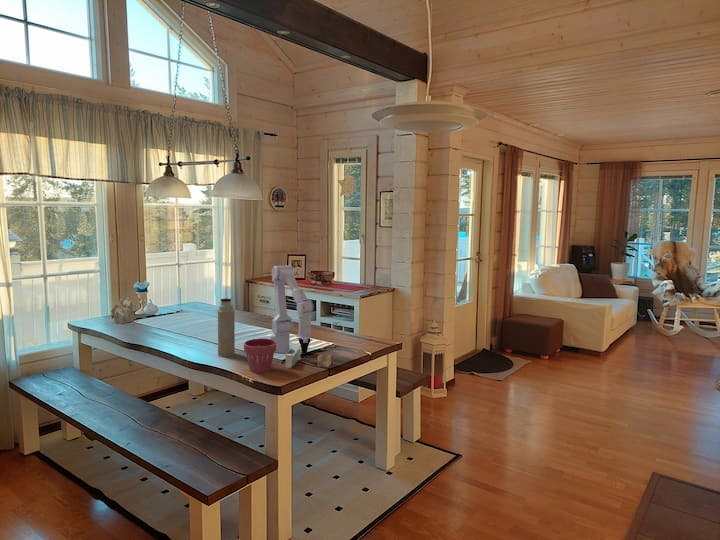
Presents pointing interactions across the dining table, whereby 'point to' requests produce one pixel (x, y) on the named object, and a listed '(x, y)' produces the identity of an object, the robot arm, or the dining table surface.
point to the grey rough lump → (122, 312)
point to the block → (324, 360)
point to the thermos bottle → (226, 329)
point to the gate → (294, 357)
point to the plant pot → (260, 354)
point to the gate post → (298, 353)
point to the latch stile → (288, 360)
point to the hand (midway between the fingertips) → (304, 353)
